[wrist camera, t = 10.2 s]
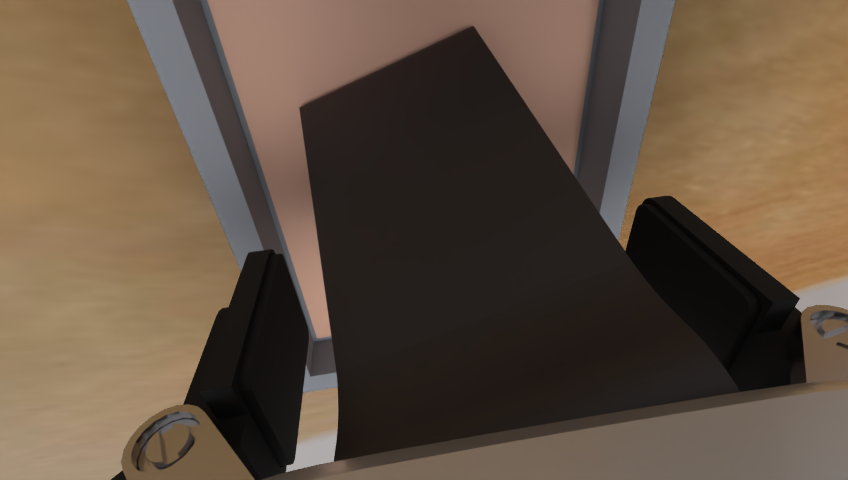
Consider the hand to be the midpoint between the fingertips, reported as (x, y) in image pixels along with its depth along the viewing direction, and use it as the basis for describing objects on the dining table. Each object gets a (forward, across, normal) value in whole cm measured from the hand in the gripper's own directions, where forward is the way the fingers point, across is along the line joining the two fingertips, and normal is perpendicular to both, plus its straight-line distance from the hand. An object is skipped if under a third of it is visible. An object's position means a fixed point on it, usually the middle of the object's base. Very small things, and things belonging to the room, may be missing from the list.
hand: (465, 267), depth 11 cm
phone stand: (+6, 0, 0) cm, 6 cm away
